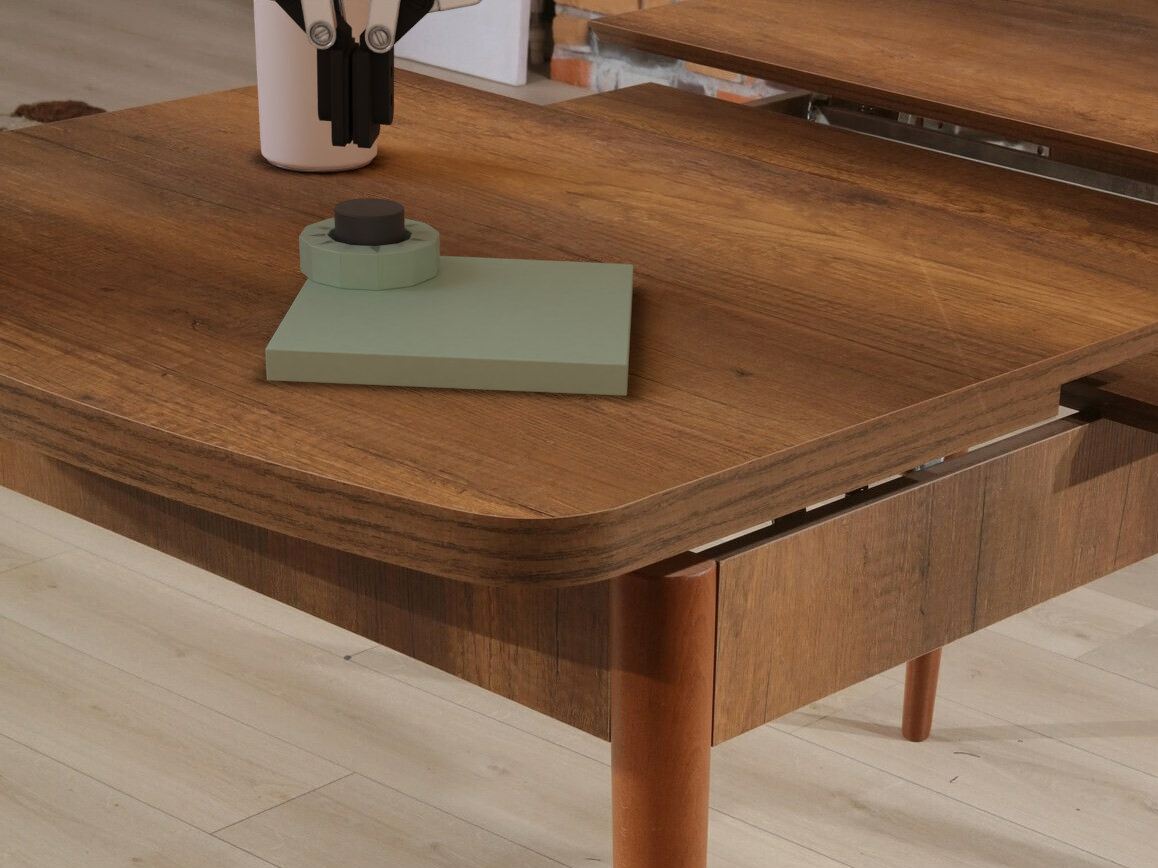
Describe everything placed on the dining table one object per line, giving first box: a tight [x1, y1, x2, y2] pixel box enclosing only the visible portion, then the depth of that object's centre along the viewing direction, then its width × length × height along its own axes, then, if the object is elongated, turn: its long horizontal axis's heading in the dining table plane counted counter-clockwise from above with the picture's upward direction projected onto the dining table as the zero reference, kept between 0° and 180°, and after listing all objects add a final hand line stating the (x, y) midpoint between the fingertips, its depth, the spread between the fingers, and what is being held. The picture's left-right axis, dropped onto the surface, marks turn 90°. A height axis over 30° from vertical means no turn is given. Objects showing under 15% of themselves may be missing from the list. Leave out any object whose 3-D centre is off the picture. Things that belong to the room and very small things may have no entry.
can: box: [253, 0, 378, 174], centre depth 98 cm, size 6×6×12 cm
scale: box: [264, 217, 635, 397], centre depth 75 cm, size 14×14×3 cm
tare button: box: [333, 197, 406, 246], centre depth 77 cm, size 3×3×2 cm
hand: (356, 139), depth 76 cm, fingers closed
